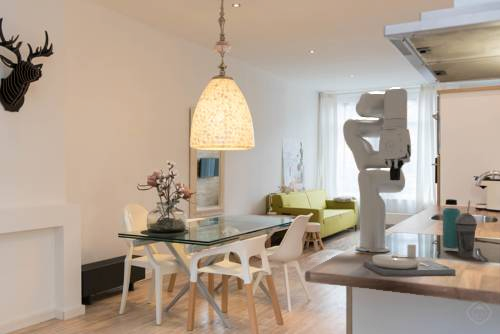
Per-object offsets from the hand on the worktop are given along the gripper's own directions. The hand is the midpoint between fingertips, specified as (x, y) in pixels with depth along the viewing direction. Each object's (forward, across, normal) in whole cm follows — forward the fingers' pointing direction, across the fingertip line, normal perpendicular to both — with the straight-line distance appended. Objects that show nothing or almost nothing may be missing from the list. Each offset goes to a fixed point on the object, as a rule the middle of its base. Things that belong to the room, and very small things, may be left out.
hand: (394, 180), depth 153 cm
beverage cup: (+27, +8, +31) cm, 42 cm away
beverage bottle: (+27, -1, +38) cm, 47 cm away
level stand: (+27, +11, -8) cm, 30 cm away
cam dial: (+26, +9, -12) cm, 30 cm away
